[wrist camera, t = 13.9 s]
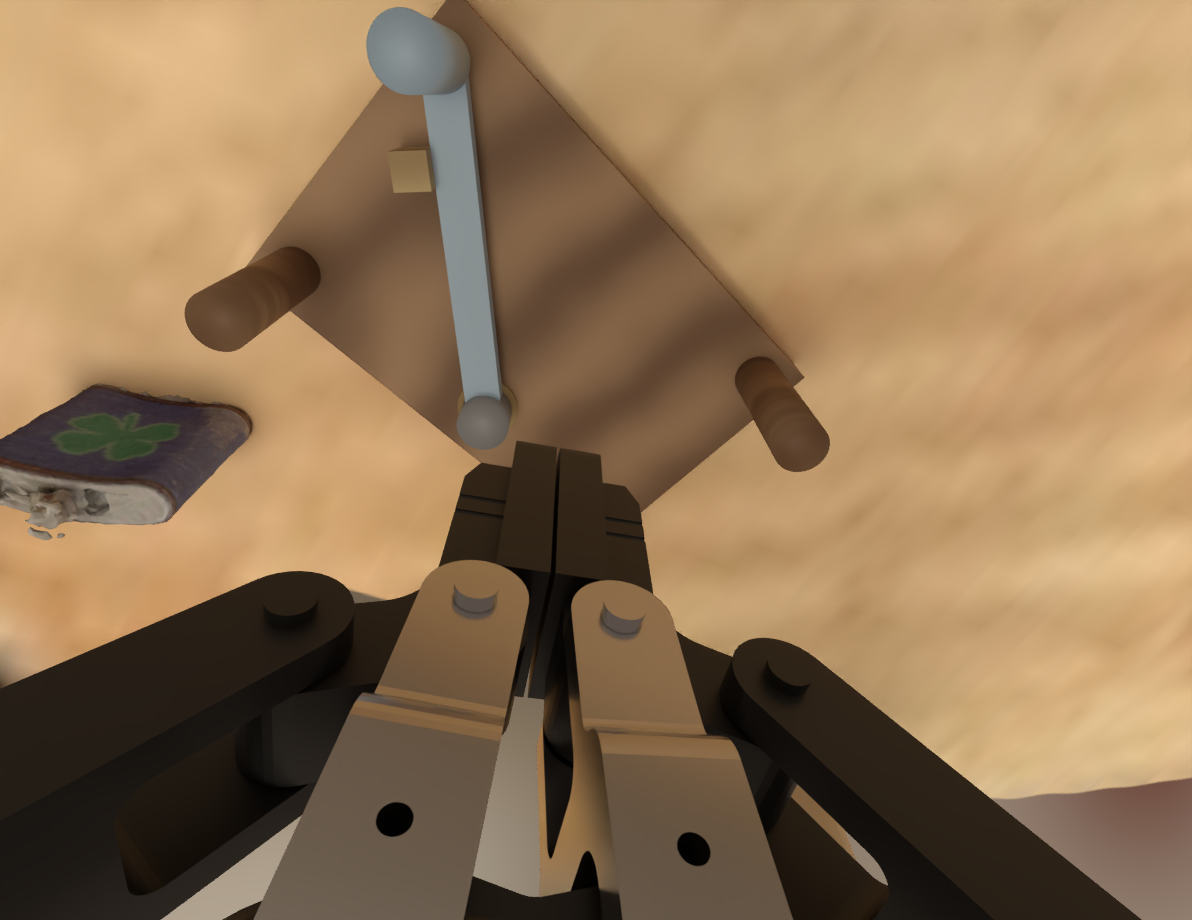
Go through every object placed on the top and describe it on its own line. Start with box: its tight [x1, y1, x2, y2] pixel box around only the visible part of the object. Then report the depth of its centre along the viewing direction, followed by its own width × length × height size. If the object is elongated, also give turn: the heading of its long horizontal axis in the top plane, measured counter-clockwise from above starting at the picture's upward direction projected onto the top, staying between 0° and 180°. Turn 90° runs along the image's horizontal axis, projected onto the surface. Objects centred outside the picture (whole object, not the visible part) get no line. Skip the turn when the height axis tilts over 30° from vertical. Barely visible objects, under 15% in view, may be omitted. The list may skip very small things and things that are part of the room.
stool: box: [185, 0, 830, 512], centre depth 31 cm, size 24×16×10 cm, turn 45°
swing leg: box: [367, 7, 512, 450], centre depth 29 cm, size 18×3×8 cm, turn 2°
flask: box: [0, 384, 251, 540], centre depth 33 cm, size 9×3×11 cm, turn 78°
